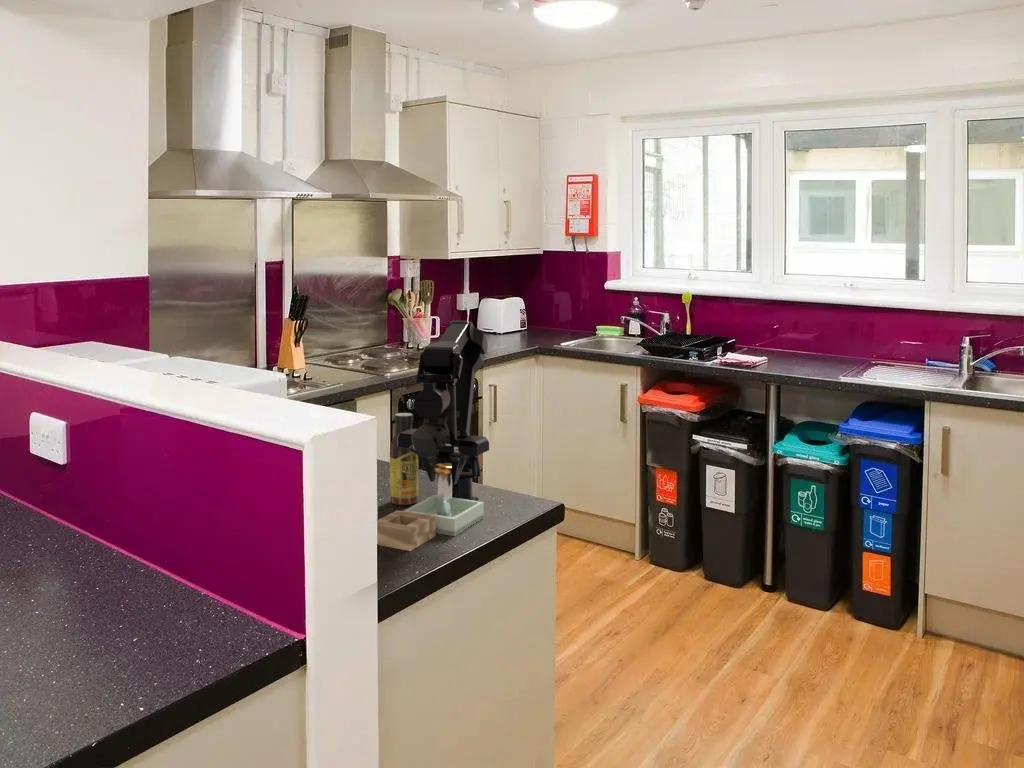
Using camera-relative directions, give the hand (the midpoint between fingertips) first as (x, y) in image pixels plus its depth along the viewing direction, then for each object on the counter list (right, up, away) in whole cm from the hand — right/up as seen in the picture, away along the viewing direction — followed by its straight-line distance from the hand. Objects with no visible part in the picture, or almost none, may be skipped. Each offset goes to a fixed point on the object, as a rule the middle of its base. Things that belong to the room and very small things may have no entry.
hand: (443, 482), depth 181 cm
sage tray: (0, -8, +2) cm, 8 cm away
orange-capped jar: (0, -7, +1) cm, 7 cm away
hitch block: (-7, -10, -8) cm, 15 cm away
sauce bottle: (-10, -6, +15) cm, 19 cm away
